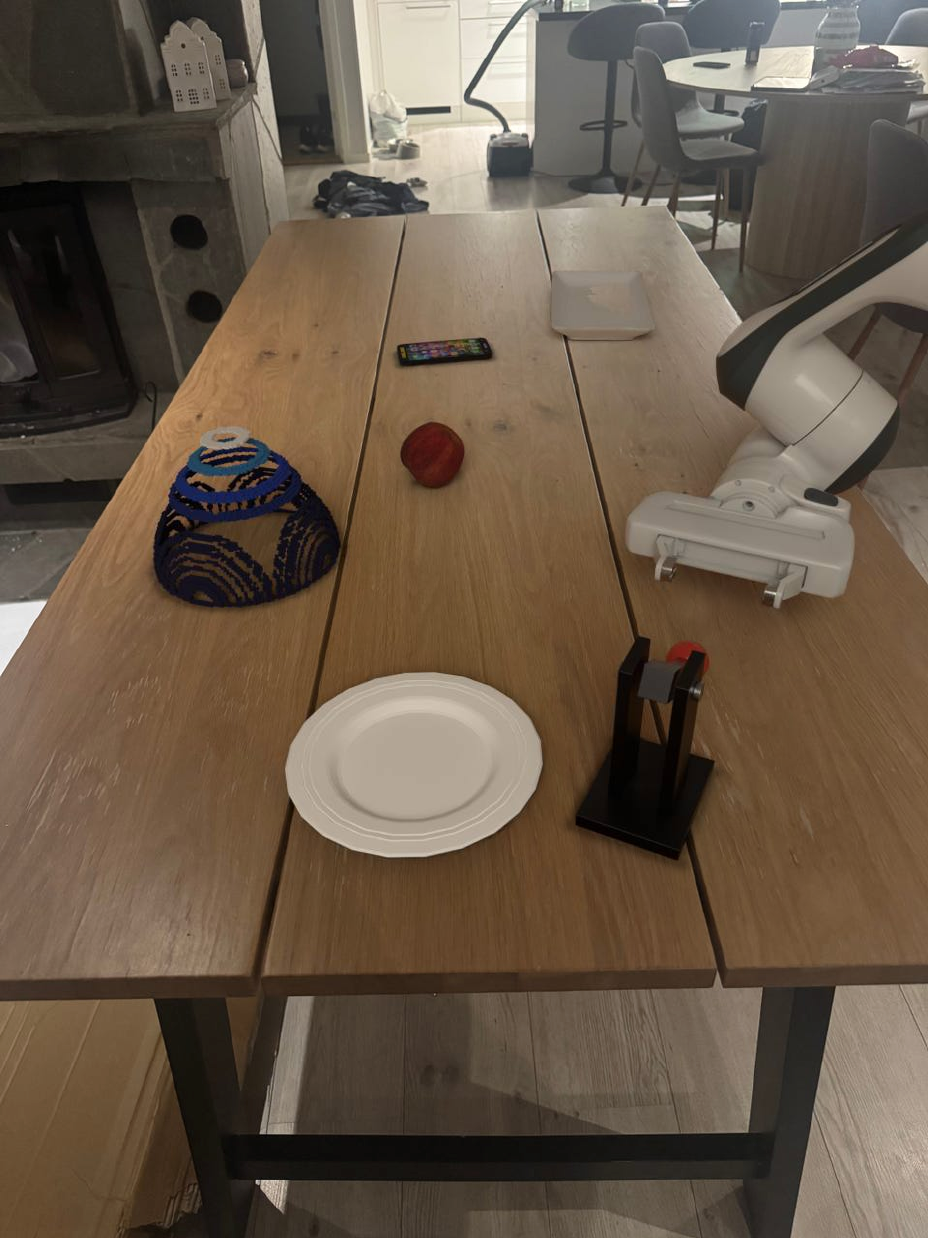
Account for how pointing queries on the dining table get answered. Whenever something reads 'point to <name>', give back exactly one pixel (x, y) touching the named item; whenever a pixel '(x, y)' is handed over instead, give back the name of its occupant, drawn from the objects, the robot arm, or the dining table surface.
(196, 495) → the decorative bowl
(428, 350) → the smartphone
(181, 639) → the dining table surface
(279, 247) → the dining table surface
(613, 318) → the tray
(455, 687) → the plate
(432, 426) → the apple
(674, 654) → the lever
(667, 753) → the switch bracket
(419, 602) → the dining table surface
